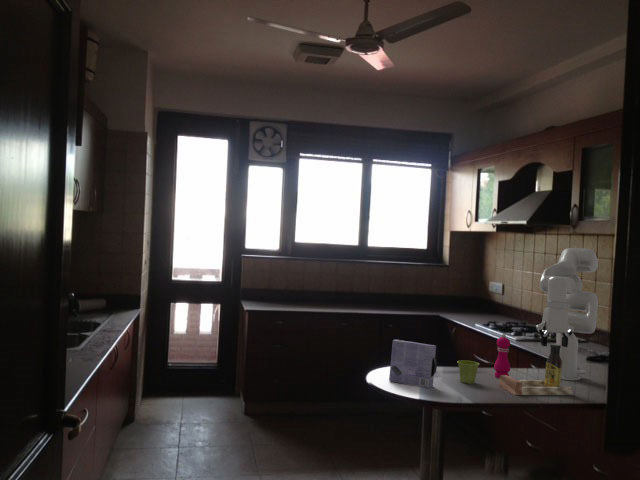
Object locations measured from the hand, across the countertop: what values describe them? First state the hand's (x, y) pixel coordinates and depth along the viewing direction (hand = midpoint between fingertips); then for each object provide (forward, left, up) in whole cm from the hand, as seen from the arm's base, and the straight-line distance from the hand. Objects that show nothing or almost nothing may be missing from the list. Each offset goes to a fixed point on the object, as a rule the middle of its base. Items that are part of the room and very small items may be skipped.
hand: (554, 346), depth 236 cm
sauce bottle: (0, 0, -19) cm, 19 cm away
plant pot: (+32, -14, -19) cm, 40 cm away
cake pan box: (+59, -10, -19) cm, 63 cm away
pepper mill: (+10, -24, -19) cm, 33 cm away
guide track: (+8, 0, -19) cm, 20 cm away
